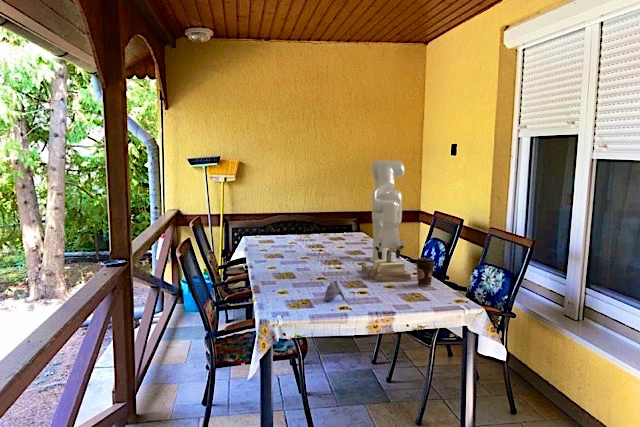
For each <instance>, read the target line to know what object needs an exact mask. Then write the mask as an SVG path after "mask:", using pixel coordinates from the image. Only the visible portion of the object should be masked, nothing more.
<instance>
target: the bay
mask: <svg viewBox="0 0 640 427" xmlns="http://www.w3.org/2000/svg"><path fill="white" fill-rule="evenodd" d="M373 268H374V265H367V264H361V272H363V273H364V274H366V275H368V276H369V277H370V278H372V279H373V280H375V281H377V282H378V283H389V282H407V281H408V280H412V278H411V276H412V274H411V273H409V272H408V271H406V270H404V273H403V274H383V275H381V274H380V273H378V272H376V271H375V270H373ZM408 282H409V281H408Z"/></svg>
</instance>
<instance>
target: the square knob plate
mask: <svg viewBox="0 0 640 427" xmlns="http://www.w3.org/2000/svg"><path fill="white" fill-rule="evenodd" d="M373 266H374V268H373V270H375V271H376V272H378V273H380V274H381V275H383V274H403V273H404V271H405V263H403V262H401V261H399V260H398V259H392V249H391V250H390V249H389V250H387V258H386V260H374V262H373Z"/></svg>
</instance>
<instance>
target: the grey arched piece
mask: <svg viewBox="0 0 640 427" xmlns="http://www.w3.org/2000/svg"><path fill="white" fill-rule="evenodd" d="M324 292H325V295H324V297H323V300H324V302H330V301H333V300H334V299H336V296H338V295H339V296H341V298H342V301H345V300H346V297H345V295H344V293H343V291H342V288H341V287H340V285H339V283H338V282H337V280H333V281H330V282H329V285H328V286H326V290H325V291H324Z"/></svg>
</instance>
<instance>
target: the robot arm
mask: <svg viewBox="0 0 640 427" xmlns="http://www.w3.org/2000/svg"><path fill="white" fill-rule="evenodd" d="M370 170H371V175H372V178H373V180H374V190H373V191H372V194H371V211H372V212H371V220H372V232H373V233H372V257H370V258H369V261H370V262H372V263H374V260H386V258H387V250H390V249H394V248H395V249H396V250H395V258H396V259H397V260H399V259H400V257H401V251H402V250H403V248H404V246H405V245H406V241H404V240H402V239H400V232H399V228H398V227H399V226H401V225H400V224H401V223H402V217H403V196H402V192H401V191H400V190H396V189H394V188H395V186H396V184H395V178H403V177H404V175H405V166H404V164H403V162H402V161H401V160H376V161H375V160H374V161H373V162H371V167H370Z"/></svg>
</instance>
